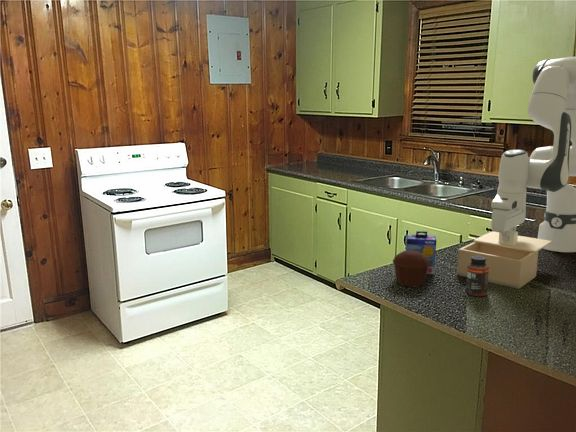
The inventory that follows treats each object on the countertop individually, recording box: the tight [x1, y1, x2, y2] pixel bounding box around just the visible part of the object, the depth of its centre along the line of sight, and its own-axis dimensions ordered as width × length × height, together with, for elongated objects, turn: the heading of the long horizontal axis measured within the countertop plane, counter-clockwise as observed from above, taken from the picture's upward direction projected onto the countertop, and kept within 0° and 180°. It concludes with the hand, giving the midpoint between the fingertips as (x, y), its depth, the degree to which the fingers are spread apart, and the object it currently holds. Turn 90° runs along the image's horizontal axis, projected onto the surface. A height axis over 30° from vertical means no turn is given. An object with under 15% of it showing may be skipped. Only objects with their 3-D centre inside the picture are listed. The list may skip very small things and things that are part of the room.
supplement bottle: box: [465, 256, 489, 297], centre depth 152 cm, size 6×6×11 cm
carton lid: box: [472, 230, 552, 253], centre depth 175 cm, size 16×20×5 cm
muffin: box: [392, 250, 430, 287], centre depth 163 cm, size 12×11×10 cm
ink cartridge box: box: [405, 230, 437, 275], centre depth 173 cm, size 10×6×14 cm, turn 79°
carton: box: [456, 242, 539, 290], centre depth 168 cm, size 15×20×9 cm
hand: (507, 240), depth 172 cm, fingers closed on carton lid, 3 cm apart
